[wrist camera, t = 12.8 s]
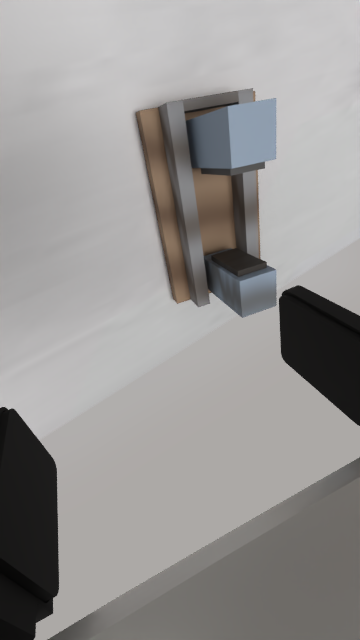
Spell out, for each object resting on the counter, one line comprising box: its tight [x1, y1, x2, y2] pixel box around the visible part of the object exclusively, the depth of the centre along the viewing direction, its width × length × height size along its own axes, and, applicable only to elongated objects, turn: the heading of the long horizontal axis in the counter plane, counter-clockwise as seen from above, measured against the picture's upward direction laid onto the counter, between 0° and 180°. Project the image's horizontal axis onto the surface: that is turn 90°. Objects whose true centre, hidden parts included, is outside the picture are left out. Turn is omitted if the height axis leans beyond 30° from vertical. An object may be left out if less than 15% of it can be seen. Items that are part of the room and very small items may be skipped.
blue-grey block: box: [186, 98, 276, 176], centre depth 26 cm, size 5×4×9 cm
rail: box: [136, 88, 276, 318], centre depth 30 cm, size 20×12×10 cm, turn 10°
